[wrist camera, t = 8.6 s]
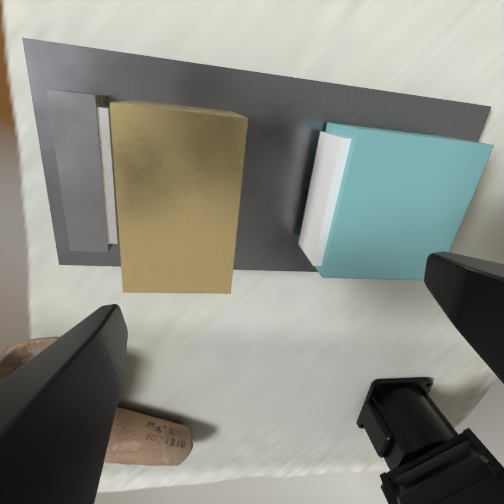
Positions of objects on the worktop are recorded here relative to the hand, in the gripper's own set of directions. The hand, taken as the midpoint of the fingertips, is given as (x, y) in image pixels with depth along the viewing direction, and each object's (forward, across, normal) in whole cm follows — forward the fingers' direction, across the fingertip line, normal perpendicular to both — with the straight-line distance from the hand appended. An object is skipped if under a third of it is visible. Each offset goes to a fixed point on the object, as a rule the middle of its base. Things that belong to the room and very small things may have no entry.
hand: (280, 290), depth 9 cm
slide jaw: (+11, -8, +1) cm, 14 cm away
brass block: (+12, +3, -1) cm, 12 cm away
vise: (+13, -2, 0) cm, 13 cm away
